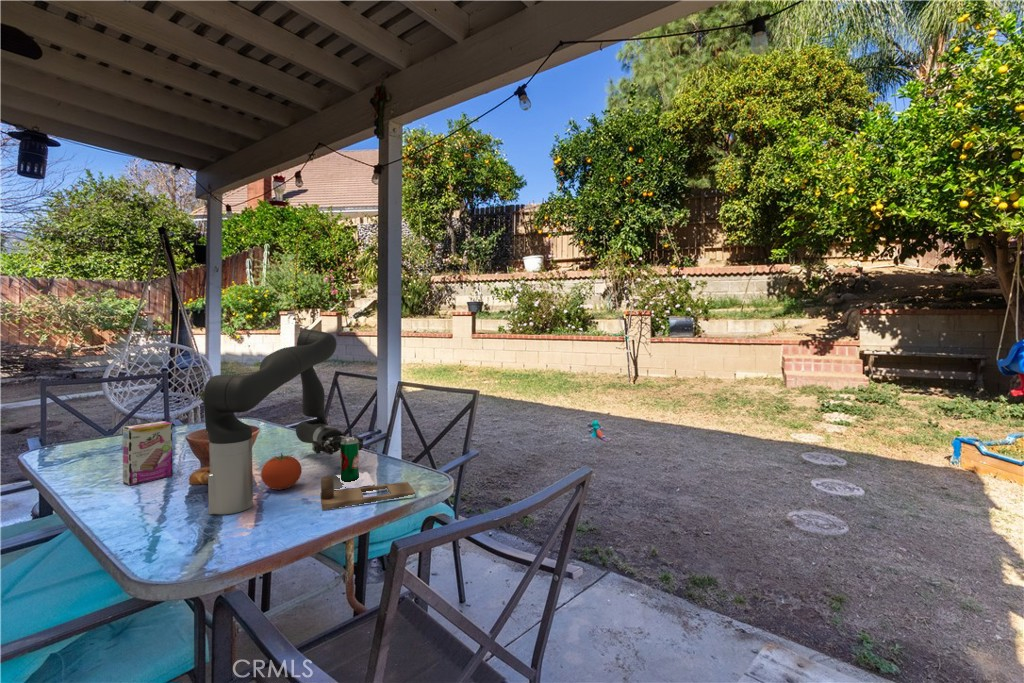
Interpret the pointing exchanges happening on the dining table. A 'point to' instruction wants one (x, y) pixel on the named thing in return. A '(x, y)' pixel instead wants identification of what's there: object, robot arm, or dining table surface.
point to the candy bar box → (147, 452)
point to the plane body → (358, 494)
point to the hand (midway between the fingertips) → (346, 448)
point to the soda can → (349, 459)
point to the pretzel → (200, 476)
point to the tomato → (281, 472)
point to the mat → (337, 482)
